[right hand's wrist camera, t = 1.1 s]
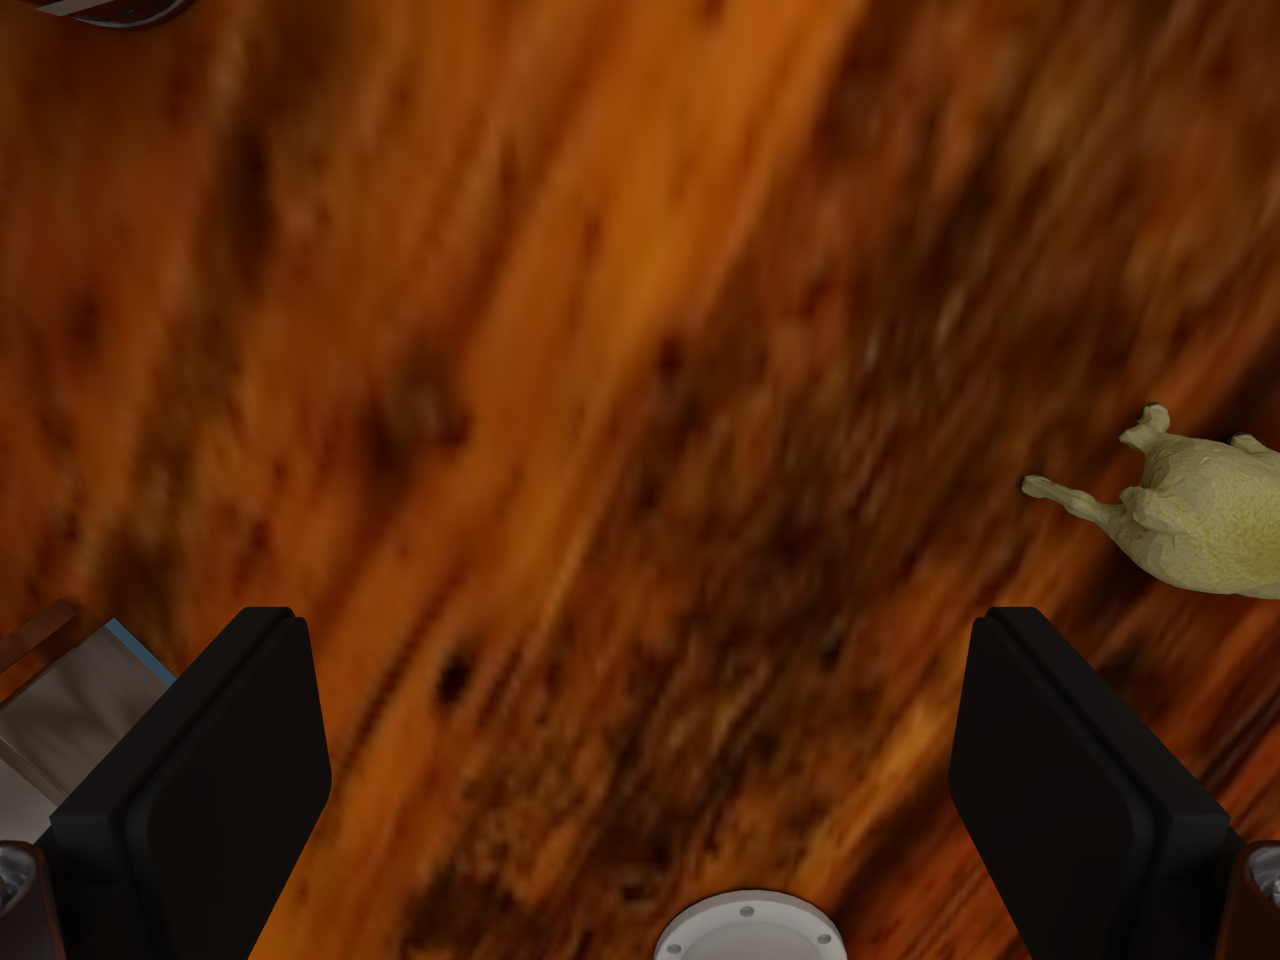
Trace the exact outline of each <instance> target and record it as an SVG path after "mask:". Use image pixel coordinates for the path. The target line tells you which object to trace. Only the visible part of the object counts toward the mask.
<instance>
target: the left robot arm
mask: <svg viewBox="0 0 1280 960" xmlns="http://www.w3.org/2000/svg"><path fill="white" fill-rule="evenodd" d="M19 1H23V2H26V3H30V4H33V5H37V6H40V8H37V9H36V10H39V11H43V12H47V13H50V14H54V15H57V16H63V15H67V16H70V17H73V18H75V19H78V20H80V21H83V22H87V23H90V24H94V25H97V26H101V27H106V28H111V29H121V30H130V29H140V28H146V27H150V26H154V25H157V24H159V23H162V22H164V21H166V20H168V19H170V18H171V17H173V16H175V15H176V14H177V13H179V12H180V11H182V10H183V9H184V8H185V7H186V6H187V5H188V4H189V3H190V2H191V1H192V0H19Z"/></svg>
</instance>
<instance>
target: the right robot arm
mask: <svg viewBox="0 0 1280 960" xmlns="http://www.w3.org/2000/svg"><path fill="white" fill-rule="evenodd" d="M331 782H332V775H331V767H330V761H329V754H328V748H327V742H326V736H325V730H324V724H323V718H322V712H321V705H320V699H319V693H318V687H317V681H316V675H315V669H314V663H313V656H312V650H311V644H310V638H309V632H308V627H307V623H306V621H305V619H303V618H302V617H295V615H294V613H293V611H292V610H291V609H290V608H289V607H245V608H244V609H242V610H241V611H240V612H239V613H238V614H237V615H236V616H235V617H234V619H233V620H232V621H231V622H230V623H229V624H228V625H227V626H226V627H225V628H224V629H223V630H222V631H221V633H220V634H219V635H218V636H217V637H216V638H215V639H214V640H213V641H212V642H211V643H210V644H209V645H208V646H207V648H206V649H205V650H204V651H203V652H202V653H201V654H200V655H199V656H198V657H197V658H196V659H195V660H194V662H193V663H192V664H191V665H190V666H189V667H188V668H187V669H186V670H185V671H184V672H183V673H182V674H181V676H180V677H179V678H178V679H177V680H176V681H175V682H174V683H173V684H172V685H171V686H170V687H169V688H168V689H167V691H166V692H165V693H164V694H163V695H162V696H161V697H160V698H159V699H158V700H157V701H156V702H155V703H154V705H153V706H152V707H151V708H150V709H149V710H148V711H147V712H146V713H145V714H144V715H143V716H142V717H141V719H140V720H139V721H138V722H137V723H136V724H135V725H134V726H133V727H132V728H131V729H130V730H129V731H128V733H127V734H126V735H125V736H124V737H123V738H122V739H121V740H120V741H119V742H118V743H117V744H116V745H115V746H114V748H113V749H112V750H111V751H110V752H109V753H108V754H107V755H106V756H105V757H104V758H103V759H102V760H101V762H100V763H99V764H98V765H97V766H96V767H95V768H94V769H93V770H92V771H91V772H90V773H89V774H88V776H87V777H86V778H85V779H84V780H83V781H82V782H81V783H80V784H79V785H78V786H77V787H76V788H75V789H74V791H73V792H72V793H71V794H70V795H69V796H68V797H67V798H66V799H65V800H64V801H63V802H62V803H61V805H60V806H59V807H58V808H57V809H56V810H55V811H54V812H53V813H52V814H51V815H50V816H49V819H50V822H51V825H50V827H49V828H48V829H47V830H46V831H45V832H44V833H43V834H42V835H41V836H40V837H39V839H38V840H37V841H36V842H35V843H34V844H31V843H28V842H26V841H17V840H1V841H0V960H247V959H248V957H249V955H250V953H251V951H252V949H253V947H254V945H255V943H256V942H257V940H258V938H259V936H260V934H261V932H262V930H263V928H264V926H265V924H266V922H267V920H268V918H269V916H270V914H271V912H272V910H273V908H274V906H275V904H276V902H277V900H278V898H279V896H280V894H281V892H282V890H283V888H284V886H285V884H286V882H287V880H288V878H289V876H290V874H291V872H292V870H293V868H294V866H295V864H296V862H297V860H298V858H299V856H300V854H301V852H302V850H303V848H304V846H305V844H306V842H307V840H308V838H309V836H310V834H311V832H312V831H313V829H314V827H315V825H316V823H317V821H318V819H319V817H320V815H321V813H322V811H323V809H324V807H325V805H326V803H327V800H328V798H329V794H330V790H331ZM948 782H949V790H950V794H951V798H952V800H953V803H954V805H955V807H956V809H957V811H958V813H959V815H960V817H961V819H962V821H963V823H964V825H965V827H966V829H967V831H968V832H969V834H970V836H971V838H972V840H973V842H974V844H975V846H976V848H977V850H978V852H979V854H980V856H981V858H982V860H983V862H984V864H985V866H986V868H987V870H988V872H989V874H990V876H991V878H992V880H993V882H994V884H995V886H996V888H997V890H998V892H999V894H1000V896H1001V898H1002V900H1003V902H1004V904H1005V906H1006V908H1007V910H1008V912H1009V914H1010V916H1011V918H1012V920H1013V922H1014V924H1015V926H1016V928H1017V930H1018V932H1019V934H1020V936H1021V938H1022V940H1023V942H1024V943H1025V945H1026V947H1027V949H1028V951H1029V953H1030V955H1031V957H1032V959H1033V960H1280V841H1279V840H1263V841H1254V842H1252V843H1249V844H1246V843H1245V842H1244V841H1243V840H1242V839H1241V837H1240V836H1239V835H1238V834H1237V833H1236V832H1235V831H1234V830H1233V829H1232V828H1231V827H1230V825H1229V822H1230V819H1231V816H1230V815H1229V814H1228V813H1227V812H1226V811H1225V810H1224V809H1223V808H1222V807H1221V806H1220V805H1219V803H1218V802H1217V801H1216V800H1215V799H1214V798H1213V797H1212V796H1211V795H1210V794H1209V793H1208V792H1207V791H1206V789H1205V788H1204V787H1203V786H1202V785H1201V784H1200V783H1199V782H1198V781H1197V780H1196V779H1195V778H1194V777H1193V776H1192V774H1191V773H1190V772H1189V771H1188V770H1187V769H1186V768H1185V767H1184V766H1183V765H1182V764H1181V763H1180V762H1179V760H1178V759H1177V758H1176V757H1175V756H1174V755H1173V754H1172V753H1171V752H1170V751H1169V750H1168V749H1167V748H1166V746H1165V745H1164V744H1163V743H1162V742H1161V741H1160V740H1159V739H1158V738H1157V737H1156V736H1155V735H1154V734H1153V733H1152V731H1151V730H1150V729H1149V728H1148V727H1147V726H1146V725H1145V724H1144V723H1143V722H1142V721H1141V720H1140V719H1139V717H1138V716H1137V715H1136V714H1135V713H1134V712H1133V711H1132V710H1131V709H1130V708H1129V707H1128V706H1127V705H1126V703H1125V702H1124V701H1123V700H1122V699H1121V698H1120V697H1119V696H1118V695H1117V694H1116V693H1115V692H1114V691H1113V689H1112V688H1111V687H1110V686H1109V685H1108V684H1107V683H1106V682H1105V681H1104V680H1103V679H1102V678H1101V677H1100V676H1099V674H1098V673H1097V672H1096V671H1095V670H1094V669H1093V668H1092V667H1091V666H1090V665H1089V664H1088V663H1087V662H1086V660H1085V659H1084V658H1083V657H1082V656H1081V655H1080V654H1079V653H1078V652H1077V651H1076V650H1075V649H1074V648H1073V646H1072V645H1071V644H1070V643H1069V642H1068V641H1067V640H1066V639H1065V638H1064V637H1063V636H1062V635H1061V634H1060V633H1059V631H1058V630H1057V629H1056V628H1055V627H1054V626H1053V625H1052V624H1051V623H1050V622H1049V621H1048V620H1047V619H1046V617H1045V616H1044V615H1043V614H1042V613H1041V612H1040V611H1039V610H1038V609H1036V608H1035V607H991V608H990V609H989V610H988V611H987V613H986V615H985V617H978V618H977V619H975V621H974V623H973V627H972V632H971V638H970V644H969V650H968V656H967V663H966V669H965V675H964V681H963V687H962V693H961V699H960V705H959V712H958V718H957V724H956V730H955V736H954V742H953V748H952V754H951V761H950V767H949V775H948ZM654 960H847V954H846V951H845V948H844V944H843V941H842V937H841V935H840V934H839V932H838V930H837V928H836V927H835V925H834V924H833V923H832V921H831V920H830V919H829V918H828V917H827V916H826V915H825V914H824V913H823V912H821V911H820V910H818V909H817V908H816V907H814V906H813V905H811V904H809V903H807V902H805V901H803V900H801V899H799V898H796V897H794V896H790V895H786V894H783V893H779V892H773V891H764V890H740V891H734V892H729V893H723V894H719V895H716V896H713V897H710V898H708V899H705V900H703V901H701V902H699V903H697V904H695V905H693V906H691V907H689V908H687V909H686V910H685V911H684V912H682V913H681V914H680V915H678V916H677V917H676V918H675V919H674V920H673V921H672V922H671V923H670V924H669V925H668V926H667V928H666V929H665V930H664V932H663V933H662V935H661V937H660V939H659V940H658V942H657V946H656V949H655V953H654Z"/></svg>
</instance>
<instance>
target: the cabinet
mask: <svg viewBox="0 0 1280 960" xmlns="http://www.w3.org/2000/svg"><path fill="white" fill-rule="evenodd" d="M33 676H34V675H33ZM176 680H177V678H176V677H175V676H174V675H173V674H172V673H171V672H170V671H169V670H168V669H166V668H165V667H164V666H163V665H162V664H161V663H160V662H159V661H158V660H157V659H156V658H155V657H154V656H153V655H152V654H151V653H150V652H149V651H148V650H147V649H146V648H145V647H144V646H143V645H142V644H141V643H140V642H139V641H138V640H137V639H136V638H135V637H134V636H132V635H131V634H130V633H129V632H128V631H127V630H126V629H125V628H124V627H123V626H122V625H121V624H120V623H119V622H118V621H117V620H116V619H115V618H113V619H112V620H110V621H109V622H108V623H106V624H105V625H103V626H102V627H100V628H99V629H98V630H96V631H95V632H93V633H92V634H91V635H89V636H88V637H86V638H85V641H84V642H83V643H82V644H81V645H79V646H78V647H77V648H76V649H75V650H73V651H72V652H71V653H70V654H69V655H67V656H66V657H65V658H64V659H62V660H61V661H60V662H59V663H58V664H56V665H55V666H54V667H53V668H52V669H50V670H49V671H48V672H47V673H46V674H44V675H43V676H42V677H41V678H40V679H38V680H37V681H36V682H35V683H33V684H32V685H31V686H30V687H29V688H27V689H26V690H25V691H24V692H23V693H21V694H20V695H19V696H18V697H17V698H15V699H14V700H13V701H12V702H11V703H9V704H8V705H7V706H6V707H4V708H3V709H2V710H1V711H0V841H1V840H17V841H26V842H28V843H31V844H34V843H35V842H36V841H37V840H38V839H39V837H40V836H41V835H42V834H43V833H44V832H45V831H46V830H47V829H48V828H49V827H50V825H51V822H50V819H49V816H50V815H51V814H52V813H53V812H54V811H55V810H56V809H57V808H58V807H59V806H60V805H61V803H62V802H63V801H64V800H65V799H66V798H67V797H68V796H69V795H70V794H71V793H72V792H73V791H74V789H75V788H76V787H77V786H78V785H79V784H80V783H81V782H82V781H83V780H84V779H85V778H86V777H87V776H88V774H89V773H90V772H91V771H92V770H93V769H94V768H95V767H96V766H97V765H98V764H99V763H100V762H101V760H102V759H103V758H104V757H105V756H106V755H107V754H108V753H109V752H110V751H111V750H112V749H113V748H114V746H115V745H116V744H117V743H118V742H119V741H120V740H121V739H122V738H123V737H124V736H125V735H126V734H127V733H128V731H129V730H130V729H131V728H132V727H133V726H134V725H135V724H136V723H137V722H138V721H139V720H140V719H141V717H142V716H143V715H144V714H145V713H146V712H147V711H148V710H149V709H150V708H151V707H152V706H153V705H154V703H155V702H156V701H157V700H158V699H159V698H160V697H161V696H162V695H163V694H164V693H165V692H166V691H167V689H168V688H169V687H170V686H171V685H172V684H173V683H174V682H175V681H176Z"/></svg>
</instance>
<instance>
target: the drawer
mask: <svg viewBox="0 0 1280 960" xmlns="http://www.w3.org/2000/svg"><path fill="white" fill-rule="evenodd" d="M76 615H77V613H76V612H75V611H74V610H73V609H72V608H71V607H70V606H68V605H67V604H66V603H65V602H64V601H63V600H62V599H58V600H57V601H55V602H54V603H53V604H51V605H50V606H48V607H47V608H46V609H44V610H43V611H42V612H40V613H39V614H37V615H36V616H35V617H33V618H32V619H30V620H29V621H28V622H26V623H25V624H23V625H22V626H21V627H19V628H18V629H16V630H15V631H14V632H12V633H11V634H9V635H8V636H7V637H5V638H4V639H3V640H1V641H0V674H1V673H2V672H3V671H5V670H6V669H7V668H8V667H10V666H11V665H12V664H14V663H15V662H16V661H18V660H19V659H20V658H21V657H23V656H24V655H25V654H27V653H28V652H29V651H31V650H32V649H33V648H34V647H36V646H37V645H38V644H40V643H41V642H42V641H44V640H45V639H46V638H47V637H49V636H50V635H51V634H53V633H54V632H55V631H57V630H58V629H59V628H60V627H62V626H63V625H64V624H66V623H67V622H68V621H70V620H71V619H72V618H73V617H75V616H76ZM84 641H85V639H83V640H82V641H80V642H79V643H77V644H76V645H74V646H73V647H72V648H70V649H69V650H67V651H66V652H65V653H63V654H62V655H60V656H59V657H57V658H56V659H55V660H53V661H52V662H50V663H49V664H48V665H46V666H45V667H43V668H42V669H41V670H40V671H38V672H37V673H36V674H35V675H34V676H32V677H31V678H30V679H29V680H27V681H26V682H25V683H24V684H22V685H21V686H20V687H19V688H17V689H16V690H15V691H14V692H13V693H11V694H10V695H9V696H8V697H6V698H5V699H4V700H3V701H2V702H0V711H1V710H2V709H3V708H4V707H6V706H7V705H8V704H9V703H11V702H12V701H13V700H14V699H15V698H17V697H18V696H19V695H20V694H21V693H23V692H24V691H25V690H26V689H27V688H29V687H30V686H31V685H32V684H33V683H35V682H36V681H37V680H38V679H40V678H41V677H42V676H43V675H44V674H46V673H47V672H48V671H49V670H50V669H52V668H53V667H54V666H55V665H56V664H58V663H59V662H60V661H61V660H62V659H64V658H65V657H66V656H67V655H69V654H70V653H71V652H72V651H73V650H75V649H76V648H77V647H78V646H79V645H81V644H82V643H83V642H84Z"/></svg>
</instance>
